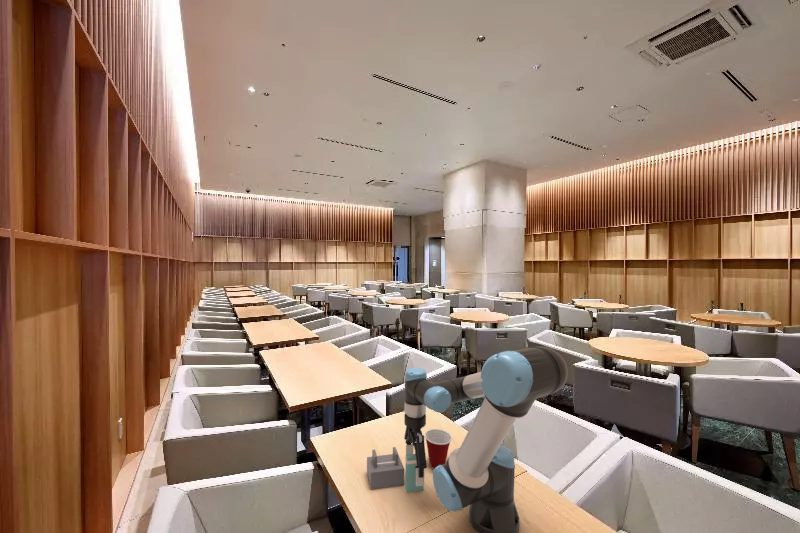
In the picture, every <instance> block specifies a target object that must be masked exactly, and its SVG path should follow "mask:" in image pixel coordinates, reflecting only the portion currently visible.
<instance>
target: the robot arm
mask: <svg viewBox="0 0 800 533" xmlns="http://www.w3.org/2000/svg"><path fill="white" fill-rule="evenodd" d="M568 375H569V371H568V366H567V362H566V361H565V359H564V357H562V355H561V354H560V353H559V352H557V351H556V350H554V349H553V348H550V347H548V346H547V347H546V346H540V345H539V346H534V347H527V348H521V349H517V350H516V349H515V350H505V351H500V352H499V353H495V354H493V355H491V356H490V357H488V359H487V360H486V361H485V362H484V363H483V366H482V367H481V371H478V372H476V373H473V374H469V375H464V376H461V377H456V378H453V379H448V380H443V381H438V382H432V381H430V380H429V379H427V377H428V376H427V371H426V370H425V369H424V368H421V367H411V368H408V369H406V370H405V376H404V410H403V411H404V425H405V433H404V437H403V439H404V441H405V444H406V445H405V456H406V455H410V454H415V455H416V462H417V466H415V468H416V486H423V487H424V486H425V469H428V464H427V456H426V455H427V454H426V447H425V434H423V431H422V429H423V428H424V427H425V426H426V424H427V408H428V409H429V410H431V411H433V412H436V413H437V414H439V413H441V414H442V413H444V412H445V411H446V410H447V409H449V407H450V406H451V405H452V404H453V405H454V404H456V403H459V402H464V401H469V400H474V399H479V398H484V399H483V401H482V402H481V405H480V408H479V409H478V411H477V413H476V414H475V417H474V419H473V421H472V423H471V425H470V427H469V429H468V431H467V433H466V435H465V437H464V439H463V442H461V445H460V446H459V447H457V448H455V449H454V450H453V451H452V452H451V453H450V454H449V456H448V458H447V459H446V462H445V464H443V465H439V466H437V467H436V468H433V472H432V481H433V486H434V489H435V493H436V495H437V498H438V499H439V501H440V503H441V504H442V507H444V508H445V509H446V510H447V511H449V512H452V513H453V512H457V511H462V510H463V509H464V508H466V507H468V506H469V508H468V510H469V511H468V519H469V520H468V521H469V523H470V526H471V527H472V528H473V529H474V530H475V531H476V532H477V533H519V532H520V517H519V512H518V510H517V506H516V503H515V500H514V499H515V496H514V495H515V468H516V465H515V456H514V453H513V451H512V450H510V448H508V447H506V446H505V445H502V443H503V442H504V441H505V439H506V438H507V435H508V433H509V432H510V430H511V428H512V427H513V425H514V424H515V421H516V419H521V418H524V417H526V415H527V414H528V413H529V411H530V410H531V408H532V407H533V404H534V403H535V401H536V400H537V399H539V398H542V397H546V396H549V395H552V394H555V393H557V392H559V391H560V390H561V389H562V388H564V386H565V384H566V383H567V380H568Z"/></svg>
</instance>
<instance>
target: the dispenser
mask: <svg viewBox="0 0 800 533" xmlns="http://www.w3.org/2000/svg"><path fill="white" fill-rule="evenodd" d="M371 452H372V454H371V456H367V457H366V475H367V479H368V484H369V488H370V491H371V490H377V489H386V488H393V487H400V486H405V467H404V465H403V463H402V460H401V458H400V455H399V452H398V450H397V448H396V446H393V447H392V454H382V455H378V454H377V451H376V449H372V450H371Z"/></svg>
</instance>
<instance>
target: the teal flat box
mask: <svg viewBox="0 0 800 533" xmlns="http://www.w3.org/2000/svg"><path fill="white" fill-rule="evenodd" d="M415 466H417V462H416V455H415V453H413V454H410V455H406V454H405V475H404V486H405V488H404V489H405V492H406V493H412V492H419V491H424V485H423V486H416V468H415Z"/></svg>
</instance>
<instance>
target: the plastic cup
mask: <svg viewBox="0 0 800 533" xmlns="http://www.w3.org/2000/svg"><path fill="white" fill-rule="evenodd" d="M424 439H425V441H426V448H427V455H428V460H429V465H430V467H432V469H435V468H436V467H437V466H439V465H443V464H445V463H446V462H447V459H448V458H447V457H448V452H449V447H450V444H451V442H452V441H453V437H452V434H451V433H450V432H448V431H447V430H444V429H442V428H441V429H440V428H431V429H428V430H426V431H425V432H424Z"/></svg>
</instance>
